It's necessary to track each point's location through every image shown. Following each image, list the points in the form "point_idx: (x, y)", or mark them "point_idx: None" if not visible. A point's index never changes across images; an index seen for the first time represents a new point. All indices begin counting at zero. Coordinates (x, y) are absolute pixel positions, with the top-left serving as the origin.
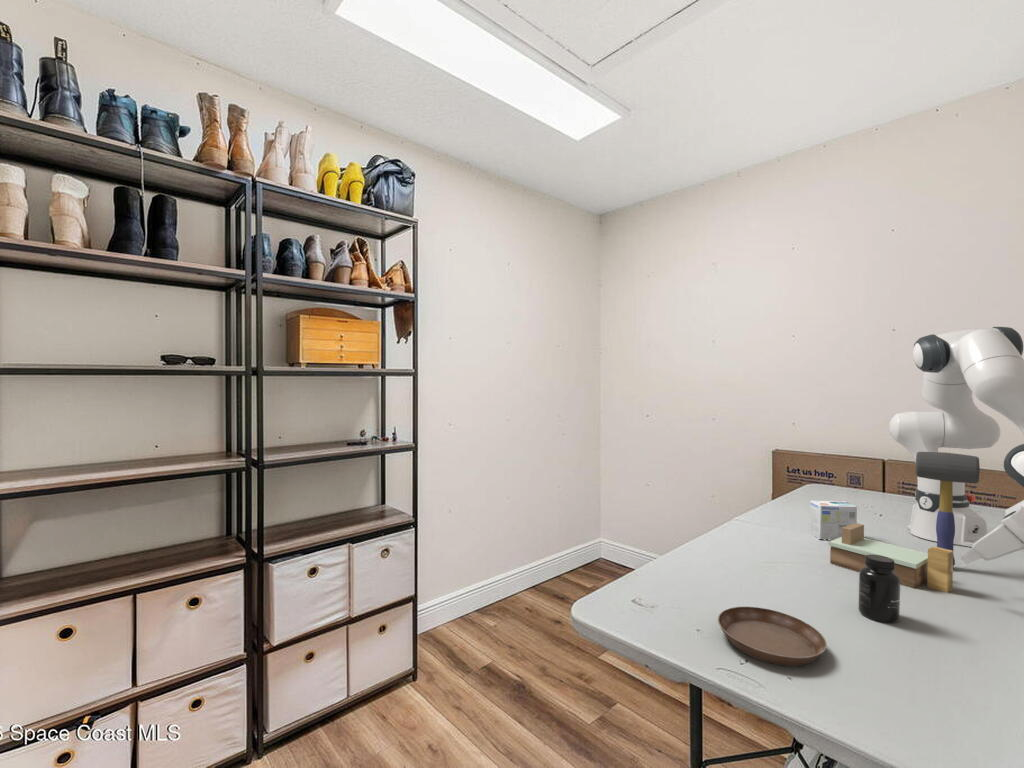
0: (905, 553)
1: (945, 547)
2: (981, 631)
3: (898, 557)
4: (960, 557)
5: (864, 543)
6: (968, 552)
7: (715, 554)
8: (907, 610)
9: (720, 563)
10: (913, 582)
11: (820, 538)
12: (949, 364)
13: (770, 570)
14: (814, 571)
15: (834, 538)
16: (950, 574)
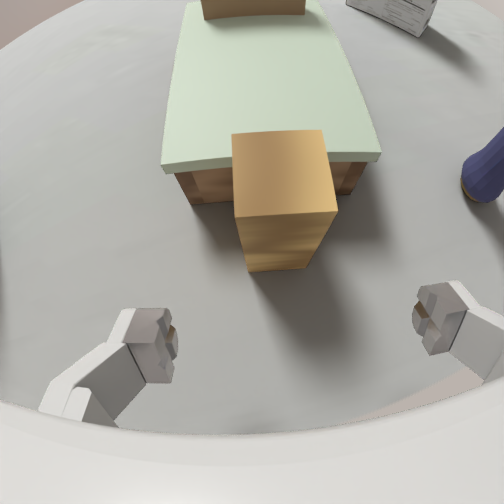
0: (281, 95)
1: (498, 158)
2: (40, 403)
3: (199, 103)
4: (124, 310)
5: (265, 23)
6: (88, 355)
7: (88, 11)
8: (25, 264)
9: (55, 35)
10: (185, 193)
11: (346, 1)
12: None
13: (68, 57)
14: (116, 67)
15: (374, 12)
16: (286, 253)
